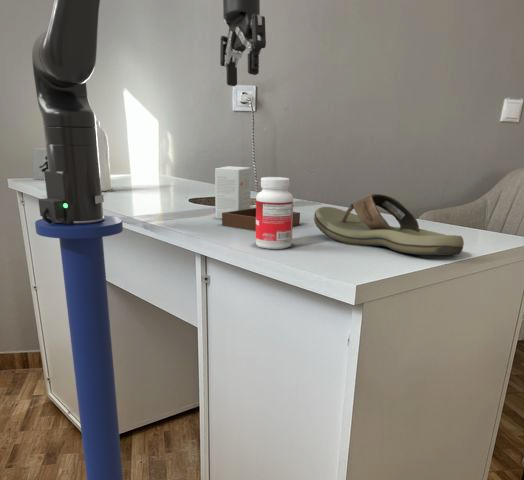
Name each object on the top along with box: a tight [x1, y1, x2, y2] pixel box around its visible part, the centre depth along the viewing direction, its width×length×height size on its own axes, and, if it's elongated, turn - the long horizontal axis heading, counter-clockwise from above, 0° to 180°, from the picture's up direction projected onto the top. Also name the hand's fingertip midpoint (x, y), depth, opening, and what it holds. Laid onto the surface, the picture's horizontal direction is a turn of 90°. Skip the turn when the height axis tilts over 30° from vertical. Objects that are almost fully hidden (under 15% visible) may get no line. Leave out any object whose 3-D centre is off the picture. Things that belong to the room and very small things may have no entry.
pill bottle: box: [255, 176, 294, 250], centre depth 92 cm, size 6×6×11 cm
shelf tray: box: [221, 207, 301, 231], centre depth 114 cm, size 12×11×2 cm
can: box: [95, 118, 112, 193], centre depth 164 cm, size 12×12×20 cm
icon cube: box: [30, 147, 49, 180], centre depth 199 cm, size 10×10×10 cm
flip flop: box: [313, 193, 465, 256], centre depth 95 cm, size 29×12×8 cm, turn 37°
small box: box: [214, 165, 252, 220], centre depth 122 cm, size 8×6×10 cm
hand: (242, 79), depth 116 cm, fingers open, 8 cm apart
